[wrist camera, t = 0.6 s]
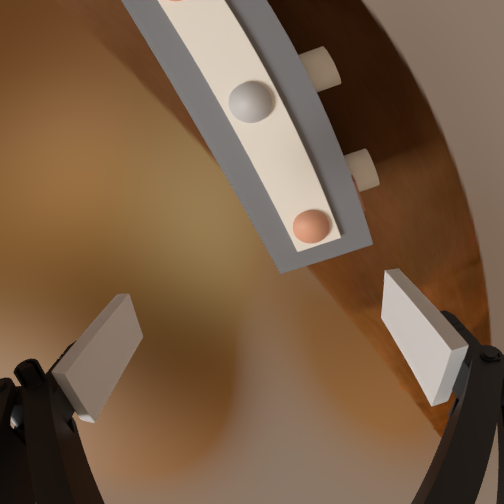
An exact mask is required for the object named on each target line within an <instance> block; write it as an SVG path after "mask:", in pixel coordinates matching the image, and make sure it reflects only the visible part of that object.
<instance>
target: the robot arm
mask: <svg viewBox="0 0 504 504" xmlns="http://www.w3.org/2000/svg"><path fill="white" fill-rule="evenodd" d="M381 318H382V320H383V322H384V323H385V325H386V326H387V328H388V330H389V331H390V333H391V335H392V336H393V338H394V340H395V342H396V343H397V345H398V347H399V348H400V350H401V352H402V353H403V355H404V357H405V359H406V360H407V362H408V364H409V366H410V368H411V369H412V371H413V373H414V375H415V376H416V378H417V380H418V382H419V384H420V386H421V387H422V389H423V391H424V393H425V395H426V397H427V399H428V401H429V403H430V404H431V406H434V405H437V404H440V403H443V402H446V401H448V399H449V397H450V394H451V392H452V390H453V392H454V393H455V395H456V399H455V401H454V403H453V405H452V408H451V410H450V412H449V414H448V415H450V416H449V419H448V422H447V425H446V428H445V430H444V433H443V436H442V439H441V441H440V444H439V446H438V449H437V451H436V453H435V456H434V458H433V460H432V463H431V465H430V467H429V469H428V472H427V474H426V476H425V478H424V480H423V482H422V484H421V486H420V488H419V490H418V492H417V494H416V496H415V498H414V499H413V501H412V503H411V504H475V501H476V499H477V495H478V493H479V490H480V487H481V484H482V481H483V477H484V475H485V471H486V468H487V464H488V460H489V457H490V452H491V449H492V444H493V440H494V435H495V430H496V425H497V427H498V446H499V448H498V450H499V469H498V470H499V471H498V491H497V503H496V504H504V355H503V354H502V352H501V351H500V350H499V349H497V348H496V347H493V346H490V345H483V346H482V345H481V344H480V343H479V342H478V341H477V339H476V338H475V337H474V336H473V335H472V334H471V333H470V332H469V331H468V329H466V328H465V326H464V325H463V324H462V323H461V322H460V321H459V320H458V319H457V318H456V317H455V315H453V314H451V313H449V312H447V311H446V310H445V311H440V312H439V311H438V309H437V308H436V307H435V306H434V305H433V304H432V303H431V302H430V301H429V300H428V299H427V298H426V297H425V296H424V294H423V293H422V292H421V291H420V290H419V289H418V288H417V287H416V286H415V285H414V284H413V283H412V282H411V281H410V280H409V279H408V278H407V277H406V276H405V275H404V274H403V273H402V272H401V271H400V270H399V269H393V270H385V278H384V292H383V304H382V314H381ZM142 338H143V335H142V332H141V329H140V326H139V323H138V320H137V317H136V314H135V311H134V308H133V304H132V301H131V298H130V295H129V294H118V295H116V297H115V298H114V299H113V300H112V301H111V302H110V303H109V304H108V305H107V306H106V308H105V309H104V310H103V311H102V312H101V313H100V314H99V316H98V317H97V318H96V319H95V320H94V321H93V322H92V324H91V325H90V326H89V327H88V328H87V329H86V330H85V332H84V333H83V334H82V335H81V336H80V337H79V339H78V340H77V341H75V342H74V343H72V344H71V345H69V346H68V347H67V349H66V350H65V351H64V354H62V355H61V356H60V357H59V359H57V361H56V362H55V363H54V364H53V366H52V367H51V368H50V369H49V371H48V372H47V373H46V374H45V373H44V371H43V369H42V368H41V366H40V364H39V362H38V361H37V360H36V359H27V360H25V361H23V362H21V363H20V364H18V365H17V367H16V368H15V370H14V374H15V376H16V377H17V379H18V381H19V382H20V384H21V386H15V384H14V383H13V381H12V380H11V379H10V378H2V379H0V504H104V501H103V499H102V497H101V494H100V492H99V490H98V487H97V485H96V482H95V480H94V477H93V475H92V472H91V470H90V467H89V464H88V461H87V458H86V455H85V452H84V449H83V446H82V443H81V440H80V437H79V433H78V430H77V426H76V423H75V421H74V419H73V417H72V415H73V413H74V412H76V413H77V414H78V416H79V417H80V418H81V420H83V421H88V422H92V423H95V422H96V420H97V418H98V417H99V415H100V413H101V411H102V409H103V407H104V405H105V404H106V402H107V400H108V398H109V396H110V394H111V393H112V391H113V389H114V387H115V385H116V383H117V382H118V380H119V378H120V376H121V375H122V373H123V371H124V369H125V367H126V366H127V364H128V362H129V360H130V359H131V357H132V355H133V353H134V352H135V350H136V348H137V346H138V345H139V343H140V341H141V340H142ZM10 420H11V421H12V422H13V423H14V424H15V427H14V429H13V428H12V427H11V425H10Z"/></svg>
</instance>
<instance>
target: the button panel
mask: <svg viewBox="0 0 504 504" xmlns="http://www.w3.org/2000/svg"><path fill="white" fill-rule="evenodd" d="M121 1H122V2H123V4H124V6H125V7H126V9H127V10H128V12H129V14H130V15H131V17H132V19H133V20H134V22H135V23H136V25H137V27H138V28H139V30H140V32H141V33H142V35H143V37H144V38H145V40H146V42H147V43H148V45H149V47H150V48H151V50H152V52H153V53H154V55H155V57H156V58H157V60H158V62H159V63H160V65H161V67H162V68H163V70H164V72H165V73H166V75H167V77H168V78H169V80H170V82H171V83H172V85H173V87H174V88H175V90H176V92H177V93H178V95H179V97H180V99H181V100H182V102H183V104H184V105H185V107H186V109H187V110H188V112H189V114H190V116H191V117H192V119H193V121H194V122H195V124H196V126H197V128H198V129H199V131H200V133H201V134H202V136H203V138H204V140H205V141H206V143H207V145H208V147H209V148H210V150H211V152H212V153H213V155H214V157H215V159H216V160H217V162H218V164H219V166H220V167H221V169H222V171H223V173H224V174H225V176H226V178H227V179H228V181H229V183H230V185H231V186H232V188H233V190H234V192H235V193H236V195H237V197H238V199H239V200H240V202H241V204H242V206H243V208H244V209H245V211H246V213H247V215H248V216H249V218H250V220H251V222H252V223H253V225H254V227H255V229H256V231H257V232H258V234H259V236H260V238H261V239H262V241H263V243H264V245H265V247H266V248H267V250H268V252H269V254H270V256H271V257H272V259H273V261H274V263H275V264H276V266H277V268H278V270H279V272H280V273H285V272H288V271H291V270H294V269H298V268H301V267H304V266H307V265H310V264H314V263H317V262H320V261H323V260H326V259H329V258H333V257H336V256H339V255H342V254H345V253H348V252H351V251H354V250H357V249H360V248H363V247H366V246H369V245H372V244H373V243H372V239H371V236H370V232H369V229H368V226H367V222H366V219H365V216H364V213H363V212H364V211H365V208H364V205H363V201H362V198H361V195H360V192H359V189H358V186H357V183H356V181H355V179H354V177H353V175H352V176H351V174H350V172H349V169H348V166H347V164H346V161H345V158H344V156H343V153H342V151H341V148H340V145H339V143H338V140H337V138H336V136H335V133H334V131H333V128H332V126H331V123H330V121H329V119H328V116H327V114H326V112H325V110H324V107H323V105H322V103H321V101H320V99H319V96H318V94H317V92H316V90H315V88H314V86H313V84H312V82H311V79H310V77H309V75H308V73H307V71H306V69H305V67H304V65H303V63H302V61H301V60H300V58H299V56H298V54H297V52H296V50H295V48H294V46H293V44H292V43H291V41H290V39H289V37H288V35H287V34H286V32H285V30H284V28H283V27H282V25H281V23H280V21H279V20H278V18H277V16H276V15H275V13H274V11H273V10H272V8H271V6H270V5H269V3H268V2H267V0H121Z"/></svg>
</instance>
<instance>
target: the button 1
mask: <svg viewBox="0 0 504 504" xmlns="http://www.w3.org/2000/svg"><path fill="white" fill-rule="evenodd" d="M344 158H345V161H346V164H347V166H348V169H349V172H350V174H351V176H352V175H353V177H354V179H355V181H356V183H357V186H358V189H359V192H361V191H364V190H366V189H369V188H372V187H375V186H378V185H379V179H378V175H377V172H376V169H375V166H374V164H373V161H372V159H371V157H370V155H369V153H368V151H367V149H366V148H365V149H362V150H359V151H356V152H353V153H350V154H347V155H344Z"/></svg>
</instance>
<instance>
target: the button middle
mask: <svg viewBox="0 0 504 504" xmlns="http://www.w3.org/2000/svg"><path fill="white" fill-rule="evenodd" d="M298 56H299V58H300V60H301V61H302V63H303V65H304V67H305V69H306V71H307V73H308V75H309V77H310V79H311V82H312V84H313V86H314V88H315V90H316V92H319V91H322V90H325V89H328V88H331V87H333V86H336V85H339V84H341V79H340V76H339V73H338V71H337V68H336V66H335V64H334V62H333V60H332V58H331V56H330V55H329V53H328V51H327V50H326V49H325V47H324V46H322V47H319V48H316V49H313V50H310V51H308V52H305V53H302V54H300V55H298Z"/></svg>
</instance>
